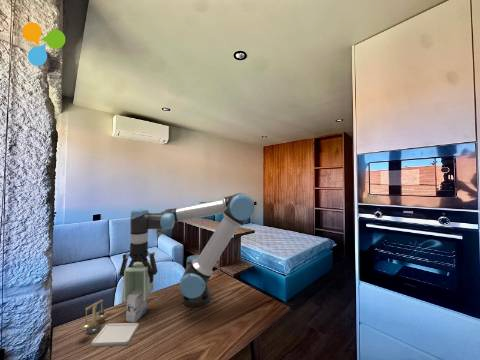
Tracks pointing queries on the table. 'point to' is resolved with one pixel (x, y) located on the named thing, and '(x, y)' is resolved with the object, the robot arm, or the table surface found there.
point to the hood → (136, 279)
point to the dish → (115, 334)
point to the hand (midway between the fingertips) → (138, 289)
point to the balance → (93, 319)
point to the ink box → (135, 305)
